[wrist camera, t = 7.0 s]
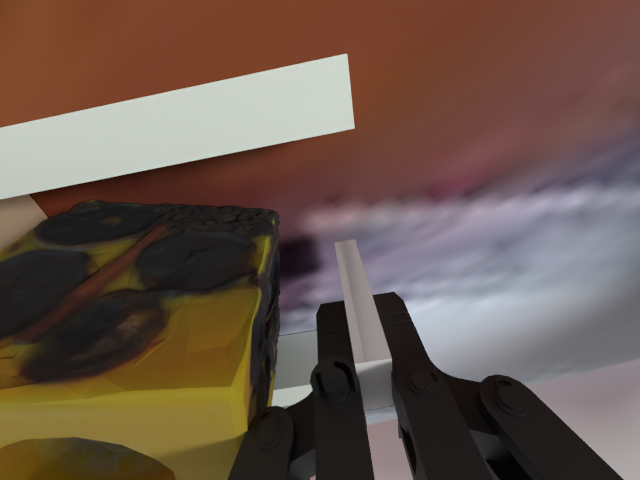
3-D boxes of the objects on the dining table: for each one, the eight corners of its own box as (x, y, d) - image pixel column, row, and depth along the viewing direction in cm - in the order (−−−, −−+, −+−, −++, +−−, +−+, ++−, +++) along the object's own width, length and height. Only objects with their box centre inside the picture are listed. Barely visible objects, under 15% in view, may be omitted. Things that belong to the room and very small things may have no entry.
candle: (138, 329, 18) (-14, 548, 9) (81, 195, 13) (-372, 404, 4) (282, 330, 19) (263, 531, 10) (281, 204, 14) (241, 394, 5)
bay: (333, 66, 11) (353, 47, 6) (367, 339, 20) (384, 408, 15) (-56, 149, 11) (-275, 183, 7) (149, 374, 20) (108, 449, 16)
